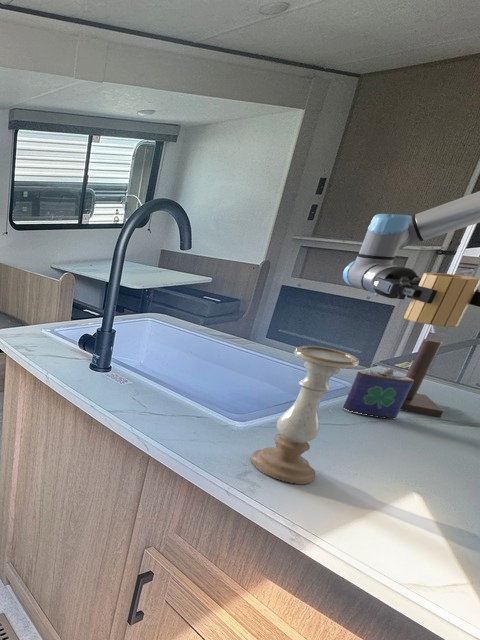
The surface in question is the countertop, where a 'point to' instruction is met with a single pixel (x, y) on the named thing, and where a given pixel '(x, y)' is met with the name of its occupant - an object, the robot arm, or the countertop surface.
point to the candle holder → (302, 417)
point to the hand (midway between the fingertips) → (459, 299)
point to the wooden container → (443, 299)
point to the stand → (417, 373)
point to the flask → (378, 393)
